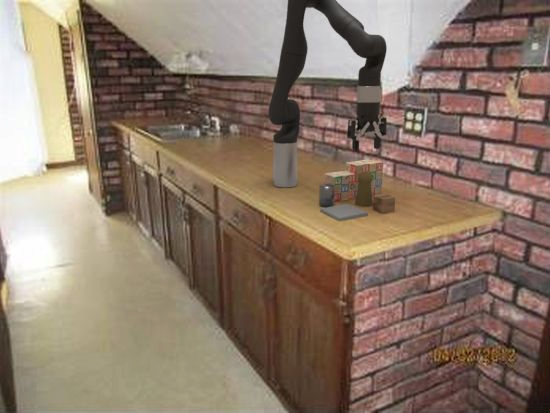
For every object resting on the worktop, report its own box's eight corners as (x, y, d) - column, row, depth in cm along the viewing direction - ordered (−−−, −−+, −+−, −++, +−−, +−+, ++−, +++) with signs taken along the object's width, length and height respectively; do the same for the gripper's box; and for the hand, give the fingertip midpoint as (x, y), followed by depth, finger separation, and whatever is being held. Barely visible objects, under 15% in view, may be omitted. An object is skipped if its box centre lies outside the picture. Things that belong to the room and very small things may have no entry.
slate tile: (320, 211, 155) (320, 208, 155) (347, 206, 160) (347, 203, 160) (339, 221, 146) (339, 218, 146) (368, 215, 151) (368, 212, 151)
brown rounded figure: (376, 205, 161) (377, 174, 158) (360, 207, 159) (361, 175, 156) (367, 200, 166) (368, 170, 163) (351, 202, 164) (353, 171, 161)
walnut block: (372, 210, 157) (373, 195, 155) (384, 207, 159) (385, 193, 157) (382, 214, 152) (383, 199, 151) (394, 211, 154) (395, 197, 153)
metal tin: (316, 204, 163) (316, 185, 161) (328, 202, 165) (329, 183, 163) (324, 208, 158) (324, 188, 156) (336, 206, 161) (337, 186, 158)
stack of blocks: (333, 202, 165) (334, 168, 161) (323, 198, 170) (324, 164, 166) (381, 194, 174) (383, 161, 171) (370, 190, 180) (372, 158, 176)
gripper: (378, 98, 158) (376, 146, 163) (343, 100, 152) (342, 150, 157) (393, 100, 152) (390, 149, 157) (357, 102, 146) (355, 154, 151)
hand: (366, 150), depth 157 cm, fingers open, 8 cm apart
